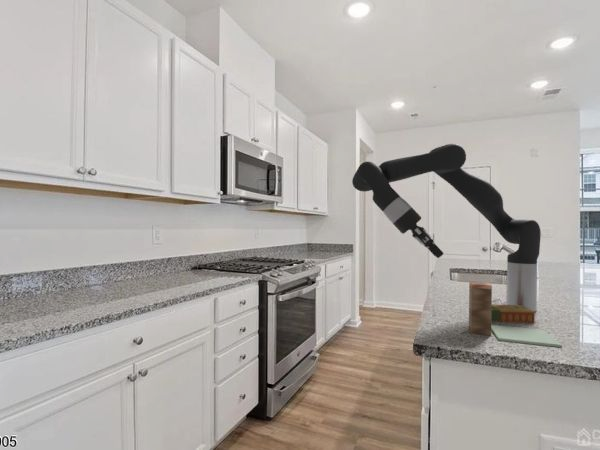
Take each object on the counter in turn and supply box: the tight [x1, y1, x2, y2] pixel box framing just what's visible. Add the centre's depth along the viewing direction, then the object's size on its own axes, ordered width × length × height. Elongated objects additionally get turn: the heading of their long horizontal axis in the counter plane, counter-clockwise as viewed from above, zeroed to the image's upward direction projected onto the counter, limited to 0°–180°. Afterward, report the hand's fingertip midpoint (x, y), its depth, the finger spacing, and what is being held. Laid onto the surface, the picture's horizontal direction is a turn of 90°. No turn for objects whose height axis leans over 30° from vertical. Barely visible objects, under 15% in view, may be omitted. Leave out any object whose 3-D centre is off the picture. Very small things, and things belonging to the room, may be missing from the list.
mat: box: [491, 324, 563, 348], centre depth 93 cm, size 14×13×1 cm
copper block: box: [468, 280, 493, 336], centre depth 97 cm, size 5×5×14 cm
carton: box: [491, 303, 535, 323], centre depth 111 cm, size 8×16×4 cm, turn 84°
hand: (439, 255), depth 99 cm, fingers open, 8 cm apart
